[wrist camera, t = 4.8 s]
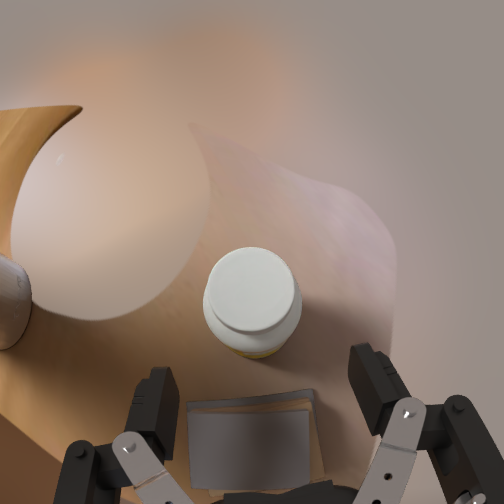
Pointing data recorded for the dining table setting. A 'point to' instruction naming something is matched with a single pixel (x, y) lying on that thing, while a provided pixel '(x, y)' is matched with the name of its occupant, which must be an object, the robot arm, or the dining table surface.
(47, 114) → the dining table surface
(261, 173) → the dining table surface
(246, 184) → the dining table surface
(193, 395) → the dining table surface
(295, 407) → the offcut stack
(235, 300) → the supplement bottle
